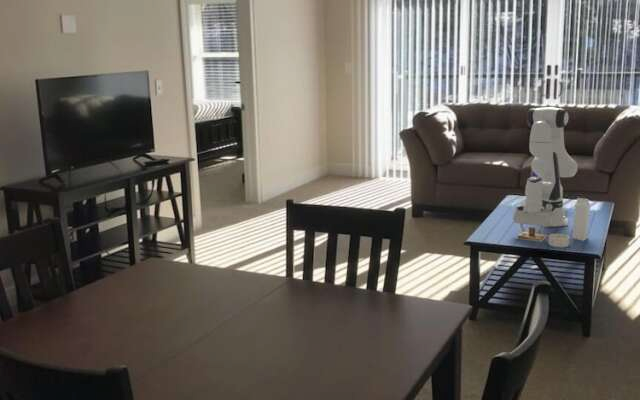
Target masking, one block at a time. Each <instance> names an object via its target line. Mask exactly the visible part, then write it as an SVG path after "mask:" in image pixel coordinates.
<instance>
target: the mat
mask: <svg viewBox="0 0 640 400" xmlns="http://www.w3.org/2000/svg"><path fill="white" fill-rule="evenodd" d="M520 234H521V233H519V234H518V235H520ZM547 237H549V235H547V234H546V236H545V237H544V238H543V239H542V240H541V241H538V242H540V243H542V242H543V241H544V240H545V239H546V238H547ZM515 239H518V240H522V239H521V238H517V236H516V237H515ZM523 240H526V241H529V240H528V239H523ZM530 241H532V242H537V241H536V240H530Z"/></svg>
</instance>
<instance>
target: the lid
mask: <svg viewBox="0 0 640 400" xmlns="http://www.w3.org/2000/svg"><path fill="white" fill-rule="evenodd" d="M519 234H520V235H519ZM519 234H518V235H517V236H516V237H517V238H521V239H520V240H524V239H528V240H527V241H531V240H536V241H535V242H539V241H541V240H542V239H543V238H544V237H545V236H546V235H547V234H546V233H543V232H542V234H539V232H536V227H534V226H532V227H531V226H530V227H528V231H526V230H525V232H522V231H521V233H519Z"/></svg>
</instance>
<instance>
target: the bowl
mask: <svg viewBox="0 0 640 400" xmlns="http://www.w3.org/2000/svg"><path fill="white" fill-rule="evenodd" d="M570 241H571V236H569V235H568V234H565V233H564V234H562V233H551V234H549V235H548V245H550V246H551V247H555V248H567V247H569V246H570Z"/></svg>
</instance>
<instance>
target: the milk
mask: <svg viewBox="0 0 640 400" xmlns="http://www.w3.org/2000/svg"><path fill="white" fill-rule="evenodd" d="M590 209H591V203H590V202H589V199H588V198H582V197H581V198H580V197H577V198H576V202H575V204H574V215H573V216H574V217H573V232H572V239H573V240H576V239H577V240H576V241H581V242H582V241H583V242H584V241H585V240H587V239H588V236H589V235H588V234H589V222H590V221H589V220H590Z"/></svg>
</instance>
